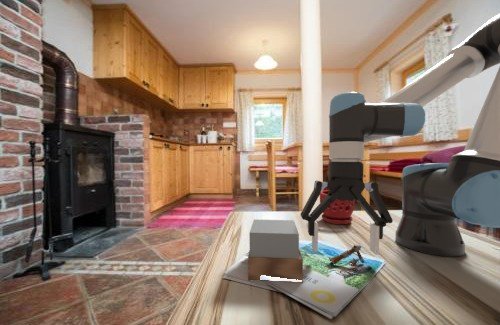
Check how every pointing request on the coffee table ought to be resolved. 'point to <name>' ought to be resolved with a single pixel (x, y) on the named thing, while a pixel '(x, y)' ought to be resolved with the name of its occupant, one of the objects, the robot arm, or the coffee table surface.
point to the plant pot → (337, 210)
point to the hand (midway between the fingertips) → (344, 250)
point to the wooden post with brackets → (347, 253)
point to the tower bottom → (275, 267)
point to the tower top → (274, 239)
